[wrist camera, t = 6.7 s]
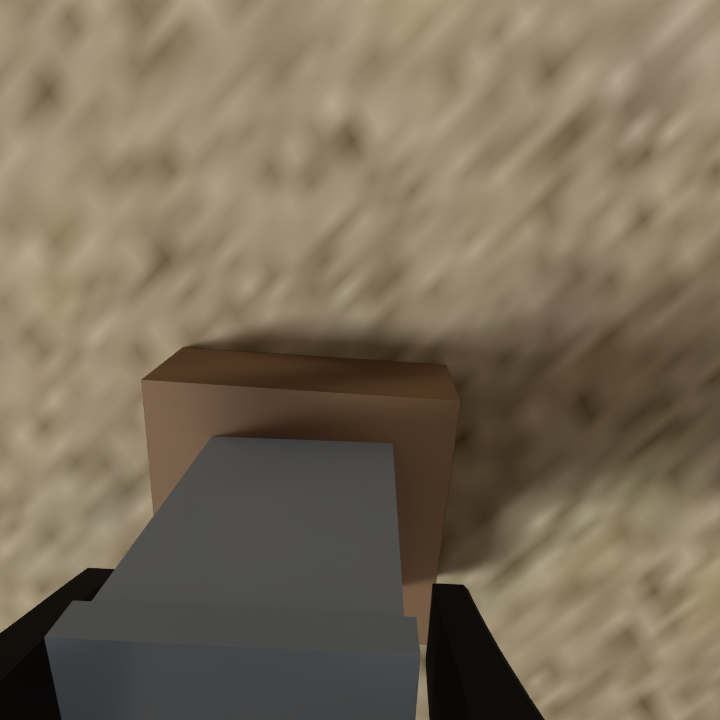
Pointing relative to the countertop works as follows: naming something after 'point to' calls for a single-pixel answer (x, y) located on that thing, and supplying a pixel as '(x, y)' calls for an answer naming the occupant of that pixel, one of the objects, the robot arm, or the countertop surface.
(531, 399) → the countertop surface
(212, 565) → the grey block
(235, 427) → the walnut block
